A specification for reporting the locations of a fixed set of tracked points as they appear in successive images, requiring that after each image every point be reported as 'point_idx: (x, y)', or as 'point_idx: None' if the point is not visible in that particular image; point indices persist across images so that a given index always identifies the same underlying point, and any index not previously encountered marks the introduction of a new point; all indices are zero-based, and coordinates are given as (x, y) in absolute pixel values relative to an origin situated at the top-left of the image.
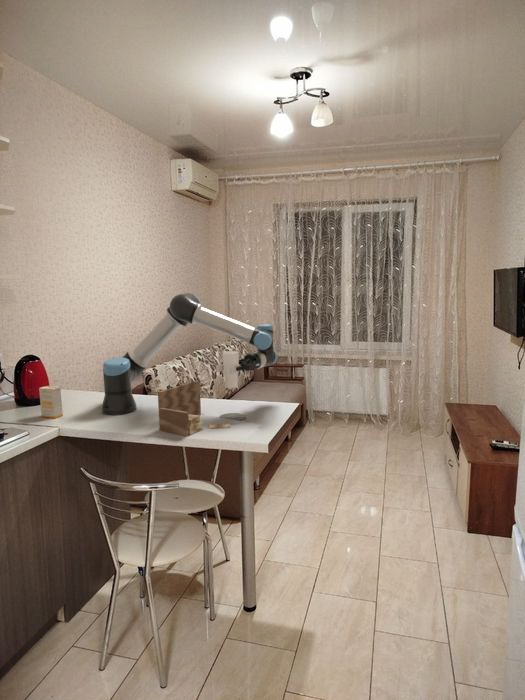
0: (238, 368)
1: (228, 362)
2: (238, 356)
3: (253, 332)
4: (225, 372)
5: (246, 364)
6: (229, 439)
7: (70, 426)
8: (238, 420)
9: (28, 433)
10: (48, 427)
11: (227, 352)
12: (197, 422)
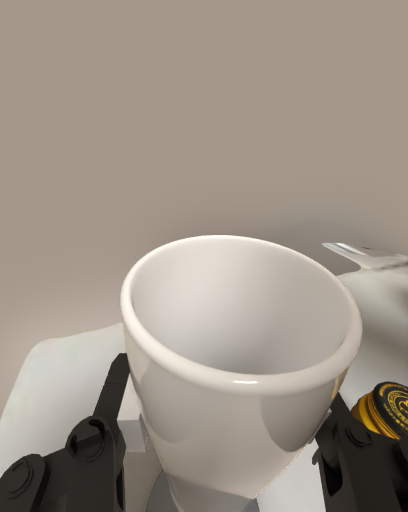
0: (118, 361)
1: (195, 301)
2: (126, 348)
3: None
4: (223, 358)
5: (25, 476)
6: (116, 330)
7: (369, 276)
8: (154, 485)
9: (357, 253)
10: (377, 266)
11: (341, 320)
12: None
